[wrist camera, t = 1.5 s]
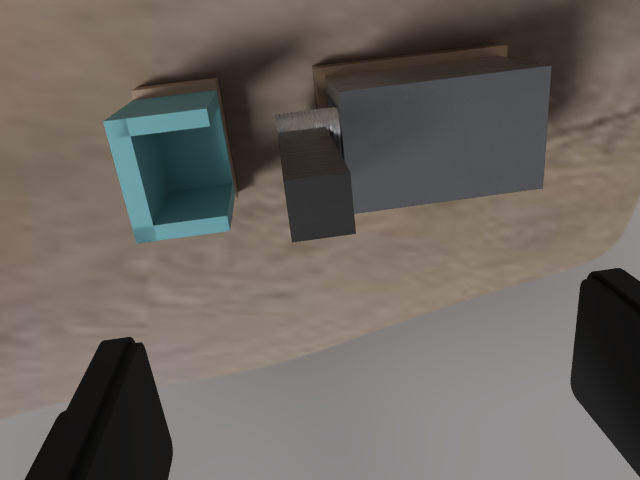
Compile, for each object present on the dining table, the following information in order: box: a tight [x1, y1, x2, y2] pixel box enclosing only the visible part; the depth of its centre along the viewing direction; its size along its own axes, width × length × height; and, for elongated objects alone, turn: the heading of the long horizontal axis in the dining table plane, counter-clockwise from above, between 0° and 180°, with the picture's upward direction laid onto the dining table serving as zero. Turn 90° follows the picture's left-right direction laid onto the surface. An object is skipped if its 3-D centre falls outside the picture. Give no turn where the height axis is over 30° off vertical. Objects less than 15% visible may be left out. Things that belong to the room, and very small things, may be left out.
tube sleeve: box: [312, 44, 552, 214], centre depth 29 cm, size 11×7×8 cm, turn 96°
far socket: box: [103, 77, 238, 243], centre depth 28 cm, size 5×7×8 cm, turn 6°
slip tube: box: [275, 107, 356, 242], centre depth 25 cm, size 12×4×11 cm, turn 96°
